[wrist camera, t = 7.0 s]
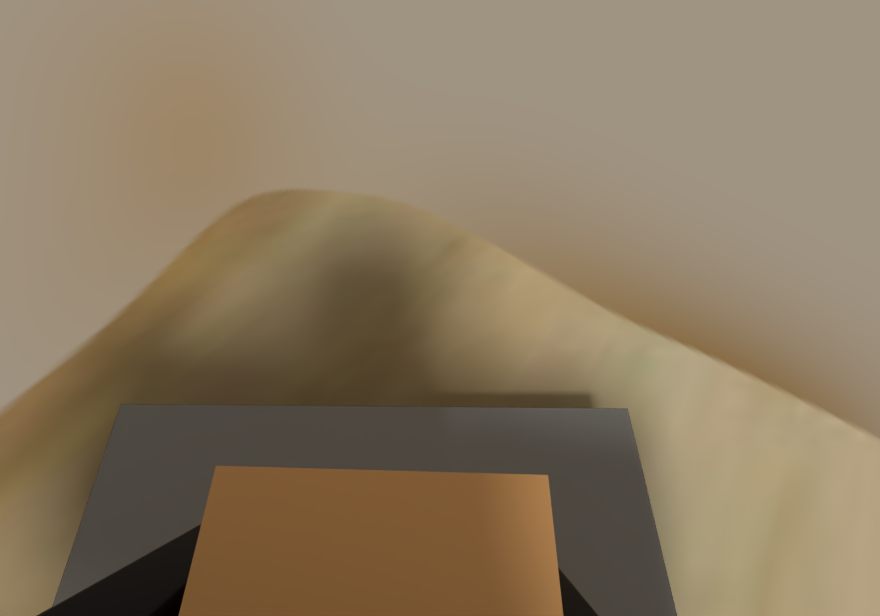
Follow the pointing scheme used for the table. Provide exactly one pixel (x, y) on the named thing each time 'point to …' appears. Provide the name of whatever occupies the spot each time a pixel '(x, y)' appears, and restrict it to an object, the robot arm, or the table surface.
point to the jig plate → (383, 448)
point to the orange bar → (374, 544)
